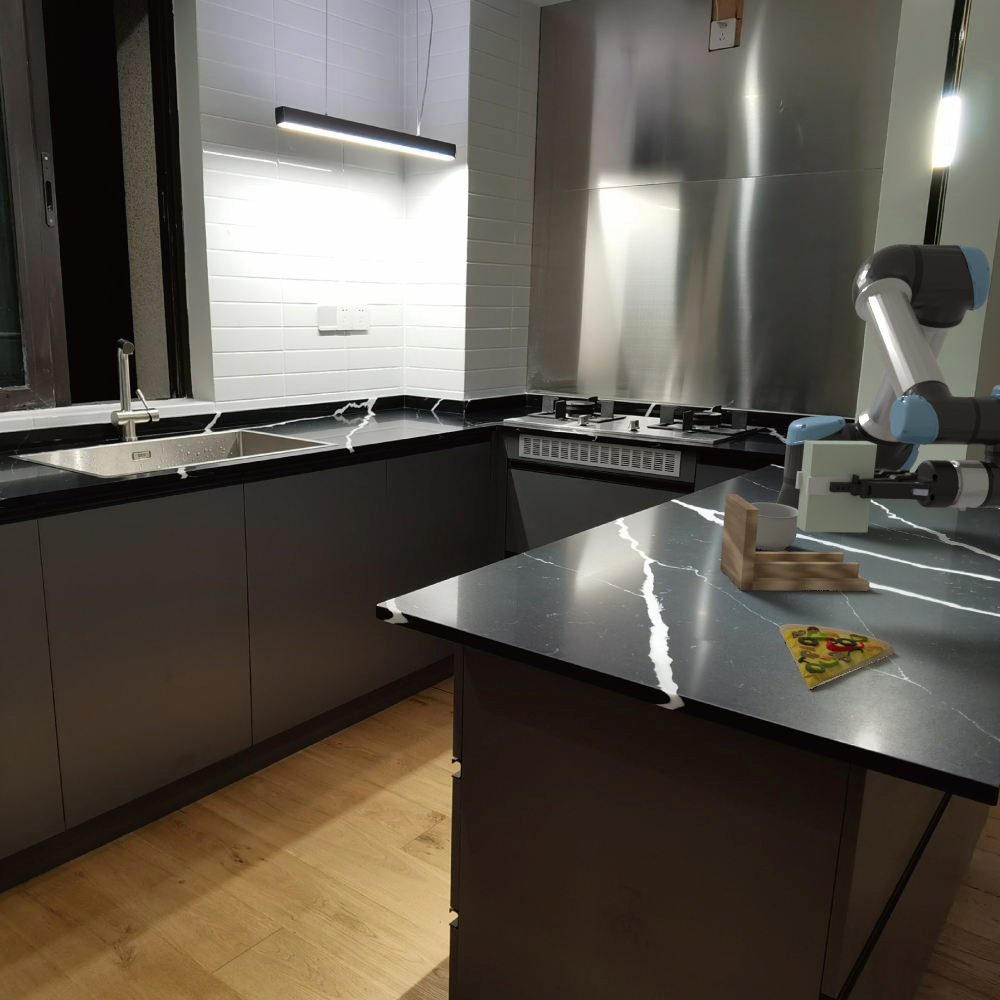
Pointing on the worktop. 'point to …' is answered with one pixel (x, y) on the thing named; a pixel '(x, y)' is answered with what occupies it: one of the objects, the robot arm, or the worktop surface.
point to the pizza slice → (830, 650)
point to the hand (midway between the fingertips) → (802, 482)
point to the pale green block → (835, 509)
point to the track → (778, 559)
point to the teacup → (775, 526)
